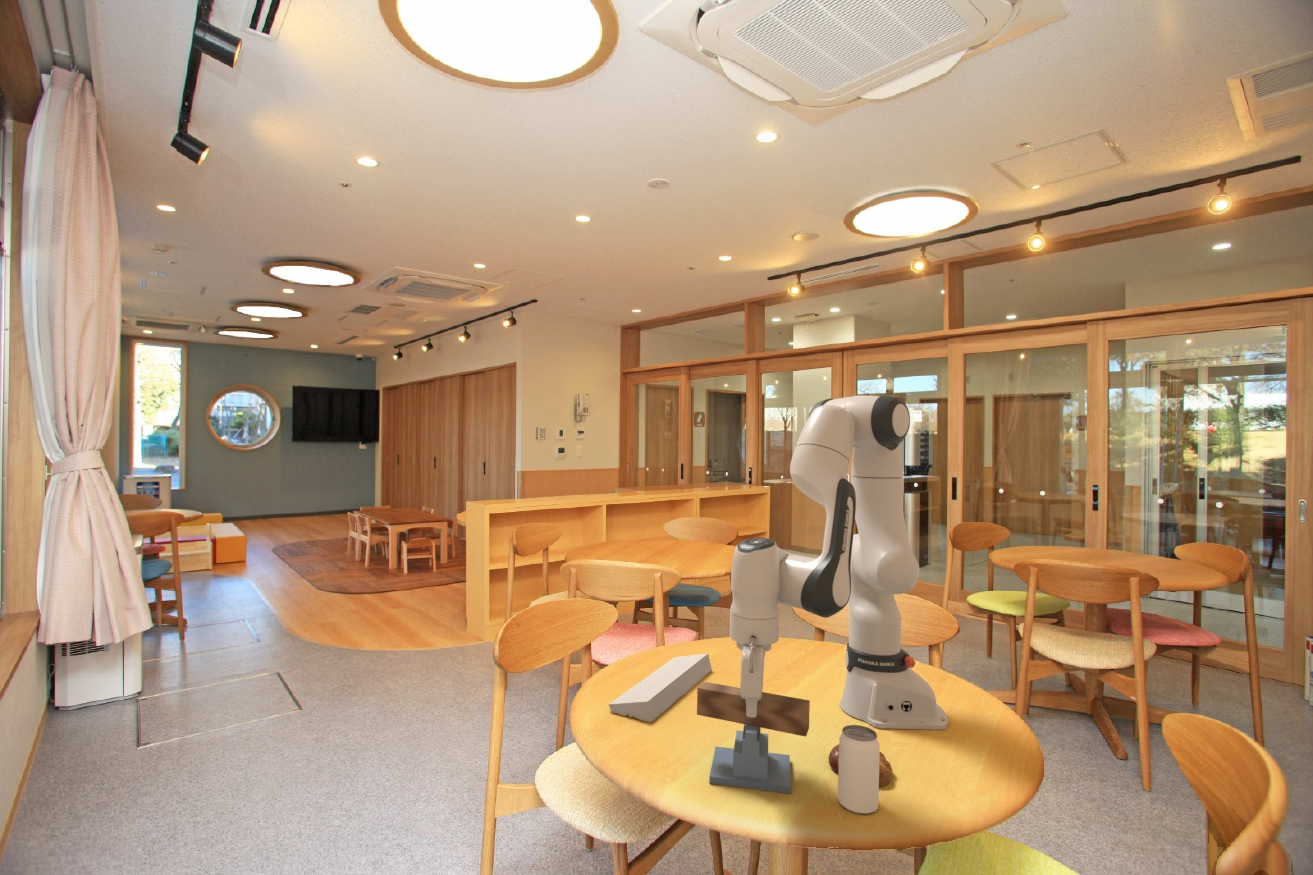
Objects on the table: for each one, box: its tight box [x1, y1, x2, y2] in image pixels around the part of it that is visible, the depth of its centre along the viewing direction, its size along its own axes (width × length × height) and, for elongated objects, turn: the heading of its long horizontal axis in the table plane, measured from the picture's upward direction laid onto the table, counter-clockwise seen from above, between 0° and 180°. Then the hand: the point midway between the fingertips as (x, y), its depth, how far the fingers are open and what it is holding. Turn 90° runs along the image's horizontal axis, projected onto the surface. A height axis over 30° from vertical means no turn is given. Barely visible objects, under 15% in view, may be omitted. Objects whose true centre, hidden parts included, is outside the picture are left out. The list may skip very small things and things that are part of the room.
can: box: [837, 724, 881, 815], centre depth 105 cm, size 6×6×12 cm
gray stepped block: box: [708, 724, 792, 794], centre depth 114 cm, size 14×11×9 cm
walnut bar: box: [696, 680, 811, 738], centre depth 114 cm, size 20×3×5 cm, turn 68°
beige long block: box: [608, 653, 713, 723], centre depth 151 cm, size 34×5×10 cm
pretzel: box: [828, 743, 892, 787], centre depth 116 cm, size 12×11×4 cm
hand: (752, 704), depth 114 cm, fingers open, 8 cm apart
